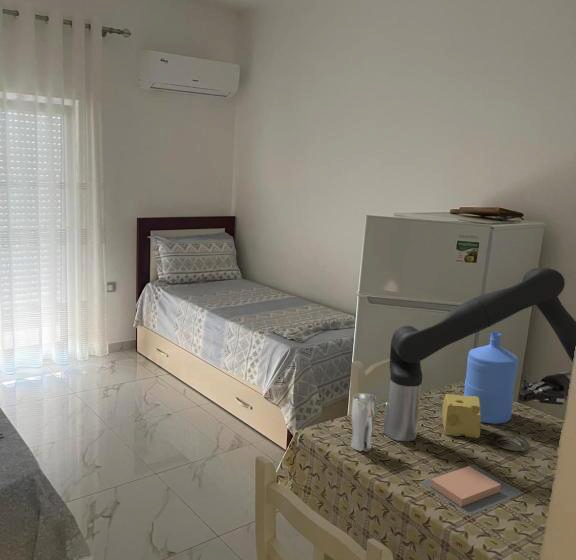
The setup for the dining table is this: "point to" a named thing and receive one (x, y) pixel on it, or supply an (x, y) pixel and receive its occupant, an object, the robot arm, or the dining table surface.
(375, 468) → the dining table surface
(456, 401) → the cheese
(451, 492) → the tile
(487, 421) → the water jug
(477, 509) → the mat
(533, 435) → the dining table surface
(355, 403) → the beer glass
